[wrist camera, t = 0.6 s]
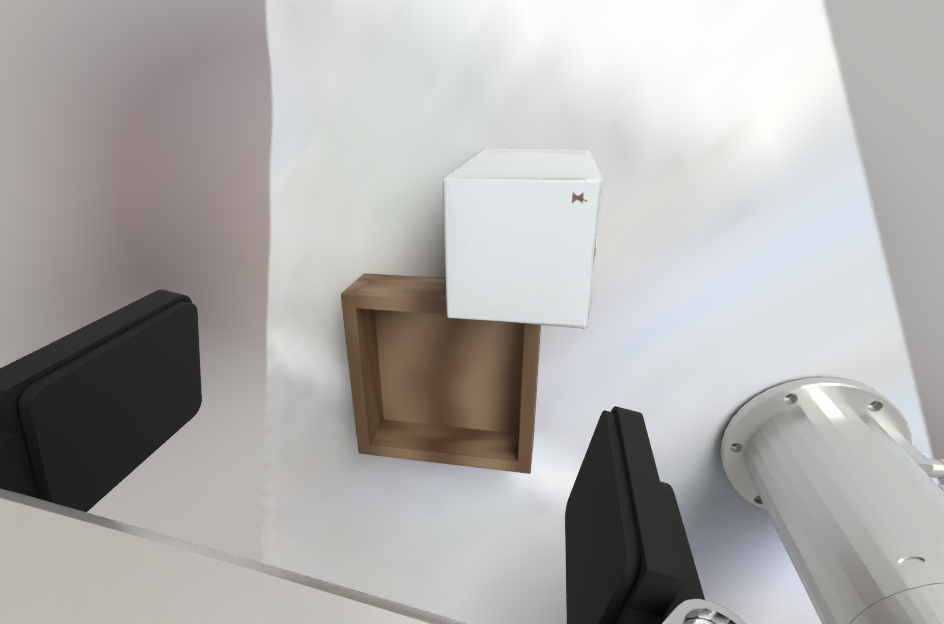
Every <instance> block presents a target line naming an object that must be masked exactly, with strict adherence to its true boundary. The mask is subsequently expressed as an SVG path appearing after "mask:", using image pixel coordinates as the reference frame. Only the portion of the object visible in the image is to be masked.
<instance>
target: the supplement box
mask: <svg viewBox="0 0 944 624" xmlns="http://www.w3.org/2000/svg"><path fill="white" fill-rule="evenodd" d="M602 187H603V179H602V176H601V174H600V172H599V169H598V167H597V164H596V162H595V160H594V157H593V155H592V152H591V150H575V149H526V148H486V149H484V150H482V151H481V152H479V153H478V154H477V155H475V156H474V157H473V158H471V159H470V160H469V161H467V162H466V163H464V164H463V165H462V166H460V167H459V168H458V169H456V170H455V171H454V172H452V173H451V174H450V175H448V176H447V177H445V178H444V180H443V204H444V241H445V272H446V299H447V316H448V317H449V318H460V319H475V320H490V321H505V322H517V323H528V324H539V325H549V326H561V327H572V328H581V329H584V328H587V327H588V324H589V318H590V308H591V297H592V287H593V277H594V267H595V259H596V251H597V235H598V225H599V215H600V206H601V196H602Z"/></svg>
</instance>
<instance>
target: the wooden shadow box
mask: <svg viewBox="0 0 944 624" xmlns="http://www.w3.org/2000/svg"><path fill="white" fill-rule="evenodd" d="M341 300H342V309H343V318H344V327H345V335H346V344H347V353H348V362H349V371H350V380H351V388H352V397H353V406H354V415H355V424H356V433H357V442H358V450H359V453H360V454H369V455H377V456H385V457H394V458H402V459H411V460H419V461H427V462H436V463H444V464H453V465H461V466H470V467H478V468H486V469H495V470H503V471H512V472H520V473H528V474H530V473H531V462H532V451H533V440H534V425H535V409H536V393H537V377H538V361H539V345H540V329H541V325H539V324H528V323H517V322H505V321H490V320H475V319H460V318H449V317H448V316H447V299H446V278H431V277H414V276H397V275H381V274H363V275H362V276H361V277H360V278H359V279H357V280H356V281H355V282H354V283H353V284H352V285H351V286H350V287H348V288H347V289H346V290H345V291H344V292H343V293H342V294H341Z"/></svg>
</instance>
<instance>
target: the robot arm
mask: <svg viewBox="0 0 944 624" xmlns="http://www.w3.org/2000/svg"><path fill="white" fill-rule="evenodd" d="M199 355H200V354H199V336H198V314H197V308H196V306H195V305H194V304H192V301H191V299H190V298H189V297H188V296H186V295H182V294H178V293H174V292H170V291H167V290H158V291H155V292H153V293H151V294H149V295H147V296H145V297H143V298H141V299H139V300H137V301H135V302H133V303H131V304H129V305H127V306H125V307H123V308H121V309H119V310H117V311H115V312H113V313H111V314H109V315H107V316H105V317H103V318H101V319H99V320H97V321H95V322H93V323H91V324H89V325H87V326H85V327H83V328H81V329H79V330H77V331H75V332H73V333H71V334H69V335H67V336H65V337H63V338H61V339H59V340H57V341H55V342H53V343H51V344H49V345H47V346H45V347H43V348H41V349H39V350H37V351H35V352H33V353H31V354H28V355H26V356H24V357H22V358H20V359H19V360H16V361H14V362H12V363H10V364H8V365H6V366H4V367H2V368H0V624H465V623H462V622H459V621H456V620H452V619H449V618H446V617H443V616H440V615H436V614H433V613H430V612H426V611H423V610H419V609H416V608H413V607H409V606H406V605H403V604H399V603H396V602H392V601H389V600H386V599H382V598H379V597H376V596H372V595H369V594H365V593H362V592H359V591H355V590H352V589H349V588H345V587H342V586H338V585H335V584H332V583H328V582H325V581H322V580H318V579H315V578H312V577H308V576H305V575H301V574H298V573H294V572H291V571H288V570H284V569H281V568H277V567H274V566H270V565H267V564H264V563H260V562H256V561H253V560H250V559H246V558H243V557H240V556H236V555H233V554H229V553H226V552H222V551H219V550H215V549H212V548H208V547H205V546H202V545H198V544H195V543H191V542H188V541H184V540H181V539H177V538H174V537H170V536H167V535H164V534H160V533H157V532H153V531H150V530H146V529H143V528H139V527H135V526H132V525H128V524H125V523H121V522H118V521H114V520H111V519H107V518H104V517H100V516H97V515H93V514H89V513H86V512H87V511H89V510H90V509H91V508H92V507H93V506H94V505H95V504H96V503H97V502H98V501H100V500H101V499H102V498H103V497H104V496H105V495H106V494H108V493H109V492H110V491H111V490H112V489H113V488H114V487H115V486H117V485H118V484H119V483H120V482H121V481H122V480H123V479H124V478H125V477H127V476H128V475H129V474H130V473H131V472H132V471H133V470H134V469H135V468H137V467H138V466H139V465H140V464H141V463H142V462H143V461H144V460H146V459H147V458H148V457H149V456H150V455H151V454H152V453H154V452H155V451H156V450H157V449H158V448H159V447H160V446H161V445H162V444H164V443H165V442H166V441H167V440H168V439H169V438H170V437H171V436H173V435H174V434H175V433H176V432H177V431H178V430H179V429H180V428H182V427H183V426H184V425H185V424H186V423H187V422H188V421H189V420H190V419H192V418H193V417H194V416H195V415H196V414H197V412H198V410H199V408H200V406H201V401H202V395H201V375H200V356H199ZM721 460H722V465H723V468H724V470H725V473H726V475H727V478H728V480H729V481H730V483H731V484H732V486H733V488H734V489H735V490H736V491H737V492H738V493H739V494H740V495H741V496H742V497H743V498H744V499H745V500H747V501H748V502H749V503H751V504H752V505H754V506H756V507H758V508H760V509H763V510H765V511H767V512H768V514H769V516H770V518H771V520H772V522H773V524H774V526H775V528H776V530H777V533H778V535H779V537H780V539H781V541H782V543H783V545H784V547H785V549H786V551H787V553H788V555H789V557H790V559H791V561H792V563H793V565H794V567H795V569H796V571H797V573H798V576H799V578H800V580H801V582H802V584H803V586H804V588H805V590H806V592H807V594H808V596H809V598H810V600H811V602H812V604H813V606H814V608H815V610H816V612H817V614H818V616H819V618H820V621H821V623H822V624H944V485H940V484H936V483H935V482H934V481H933V480H932V479H931V478H930V477H934V478H938V479H943V480H944V459H927V458H926V457H925V456H924V455H922V454H921V453H920V452H919V451H918V450H917V449H916V448H915V447H914V446H913V445H912V439H911V432H910V429H909V426H908V423H907V421H906V420H905V418H904V417H903V415H902V414H901V412H900V411H899V410H898V409H897V408H896V407H895V406H894V405H893V404H892V403H891V402H890V401H889V400H888V399H887V398H886V397H884V396H883V395H881V394H880V393H879V392H877V391H876V390H874V389H872V388H870V387H867V386H865V385H863V384H861V383H858V382H854V381H850V380H846V379H840V378H828V377H819V378H805V379H800V380H795V381H791V382H786V383H784V384H781V385H778V386H776V387H773V388H770V389H768V390H766V391H765V392H763V393H761V394H759V395H757V396H756V397H754V398H753V399H752V400H750V401H749V402H748V403H746V404H745V405H744V406H743V407H742V408H741V409H740V410H739V411H738V412H737V413H736V414H735V415H734V417H733V418H732V419H731V421H730V423H729V424H728V426H727V428H726V429H725V432H724V435H723V438H722V442H721ZM565 539H566V601H567V624H746V623H745V622H744V621H743V620H742V619H741V618H739V617H738V616H736V615H735V614H734V613H732V612H731V611H730V610H728V609H727V608H725V607H723V606H720V605H718V604H716V603H714V602H712V601H707V600H705V598H704V595H703V591H702V588H701V584H700V581H699V577H698V574H697V570H696V567H695V563H694V560H693V557H692V553H691V550H690V546H689V543H688V539H687V536H686V532H685V529H684V525H683V522H682V518H681V515H680V511H679V508H678V505H677V501H676V498H675V494H674V491H673V489H672V487H671V486H670V485H669V484H668V483H664V482H660V480H659V476H658V472H657V468H656V464H655V460H654V457H653V453H652V449H651V445H650V441H649V437H648V434H647V430H646V426H645V422H644V418H643V415H642V413H640V412H636V411H632V410H628V409H624V408H620V407H616V406H615V407H613V409H612V410H611V412H609V411H605V410H604V411H603V412H602V414H601V416H600V418H599V421H598V424H597V426H596V429H595V431H594V434H593V437H592V439H591V442H590V444H589V447H588V450H587V452H586V455H585V457H584V460H583V462H582V465H581V468H580V470H579V473H578V475H577V478H576V481H575V483H574V486H573V488H572V491H571V494H570V496H569V499H568V502H567V506H566V512H565Z"/></svg>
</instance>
